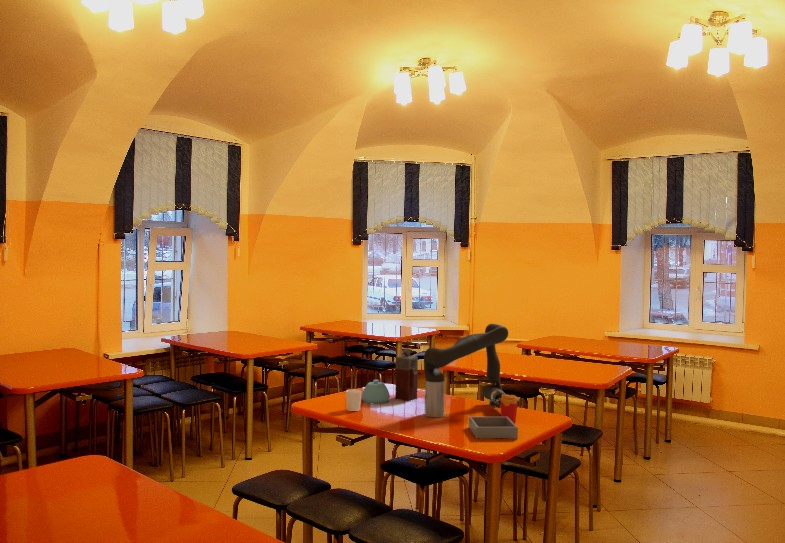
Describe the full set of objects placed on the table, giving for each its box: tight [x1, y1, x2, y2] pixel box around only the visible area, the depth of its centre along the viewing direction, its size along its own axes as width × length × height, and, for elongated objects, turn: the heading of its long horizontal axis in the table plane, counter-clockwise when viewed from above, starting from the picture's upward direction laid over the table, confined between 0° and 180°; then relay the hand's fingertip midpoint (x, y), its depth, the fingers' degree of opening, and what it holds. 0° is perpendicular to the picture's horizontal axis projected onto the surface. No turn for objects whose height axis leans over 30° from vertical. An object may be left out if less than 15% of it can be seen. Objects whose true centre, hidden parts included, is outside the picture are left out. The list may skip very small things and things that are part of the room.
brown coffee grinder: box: [394, 347, 419, 402], centre depth 340 cm, size 9×11×28 cm
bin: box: [468, 416, 519, 440], centre depth 277 cm, size 18×18×5 cm
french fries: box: [500, 393, 518, 424], centre depth 296 cm, size 9×4×13 cm, turn 40°
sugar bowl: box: [361, 379, 391, 405], centre depth 335 cm, size 15×15×12 cm
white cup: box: [345, 388, 363, 412], centre depth 314 cm, size 8×8×10 cm
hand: (507, 406), depth 298 cm, fingers open, 8 cm apart
